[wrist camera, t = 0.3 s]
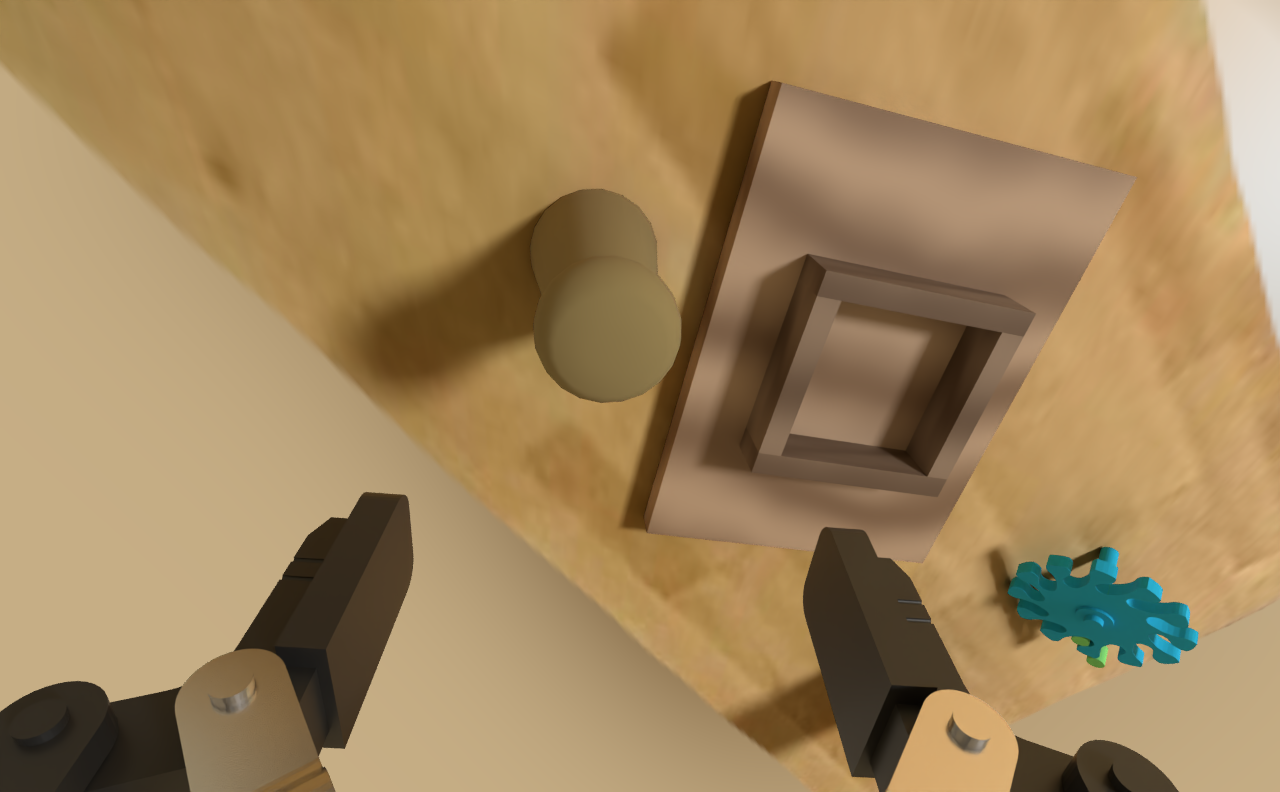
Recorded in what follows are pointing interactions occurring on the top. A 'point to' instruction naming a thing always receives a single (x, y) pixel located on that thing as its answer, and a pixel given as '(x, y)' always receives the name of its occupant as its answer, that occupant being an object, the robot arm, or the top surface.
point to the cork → (601, 298)
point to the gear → (1103, 610)
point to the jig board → (869, 324)
